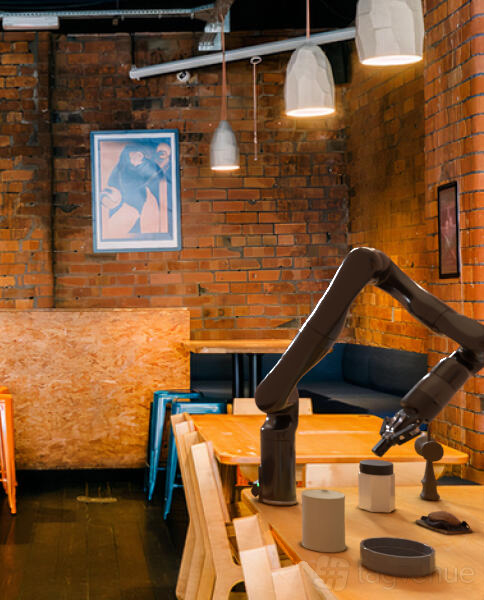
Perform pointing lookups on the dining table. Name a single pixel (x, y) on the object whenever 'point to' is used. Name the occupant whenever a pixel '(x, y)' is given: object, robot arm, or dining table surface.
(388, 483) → the jar
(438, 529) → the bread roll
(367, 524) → the dining table surface
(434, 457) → the kendama
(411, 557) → the pan
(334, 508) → the can
